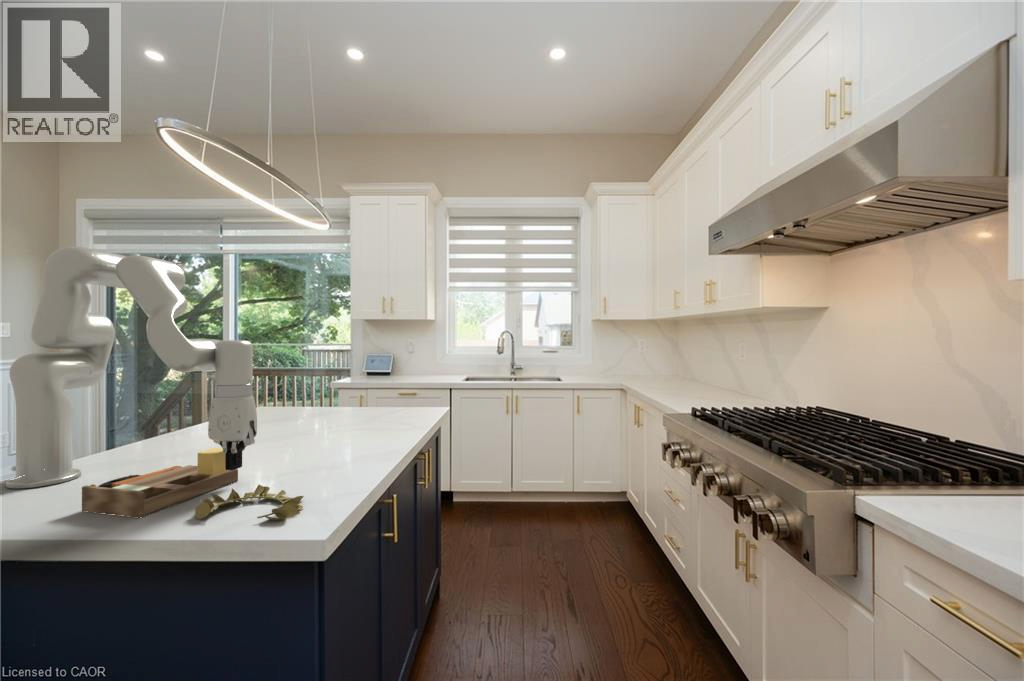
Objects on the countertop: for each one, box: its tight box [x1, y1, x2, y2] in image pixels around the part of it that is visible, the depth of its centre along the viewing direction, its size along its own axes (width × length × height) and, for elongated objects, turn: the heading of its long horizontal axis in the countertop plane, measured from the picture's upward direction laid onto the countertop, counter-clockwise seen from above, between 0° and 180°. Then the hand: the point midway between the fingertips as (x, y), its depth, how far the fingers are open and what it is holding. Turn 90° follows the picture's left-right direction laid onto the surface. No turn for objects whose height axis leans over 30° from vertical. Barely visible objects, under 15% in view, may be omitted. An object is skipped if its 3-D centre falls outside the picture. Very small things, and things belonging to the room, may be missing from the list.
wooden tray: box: [81, 464, 239, 519], centre depth 97 cm, size 15×23×5 cm, turn 167°
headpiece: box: [194, 484, 305, 521], centre depth 90 cm, size 21×4×15 cm
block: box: [197, 447, 227, 475], centre depth 104 cm, size 4×4×5 cm
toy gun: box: [89, 465, 182, 488], centre depth 107 cm, size 15×2×10 cm
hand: (233, 468), depth 103 cm, fingers closed
